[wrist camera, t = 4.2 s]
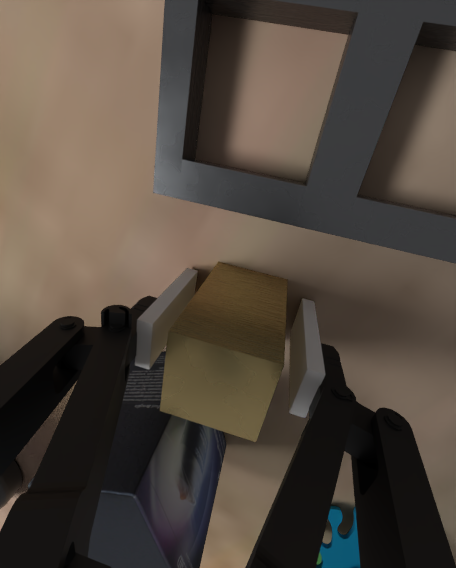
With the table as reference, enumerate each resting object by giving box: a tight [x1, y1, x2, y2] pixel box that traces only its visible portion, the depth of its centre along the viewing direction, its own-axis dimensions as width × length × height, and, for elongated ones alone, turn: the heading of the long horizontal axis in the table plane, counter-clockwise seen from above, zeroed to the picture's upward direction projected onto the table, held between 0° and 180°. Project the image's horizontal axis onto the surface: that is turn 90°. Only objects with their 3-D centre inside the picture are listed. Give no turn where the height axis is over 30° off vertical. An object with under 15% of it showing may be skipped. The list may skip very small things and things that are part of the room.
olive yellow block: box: [160, 262, 287, 442], centre depth 15 cm, size 4×4×8 cm
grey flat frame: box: [153, 0, 456, 263], centre depth 12 cm, size 26×10×2 cm, turn 79°
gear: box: [316, 506, 360, 568], centre depth 24 cm, size 11×6×10 cm
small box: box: [28, 352, 226, 568], centre depth 19 cm, size 11×6×10 cm, turn 11°
